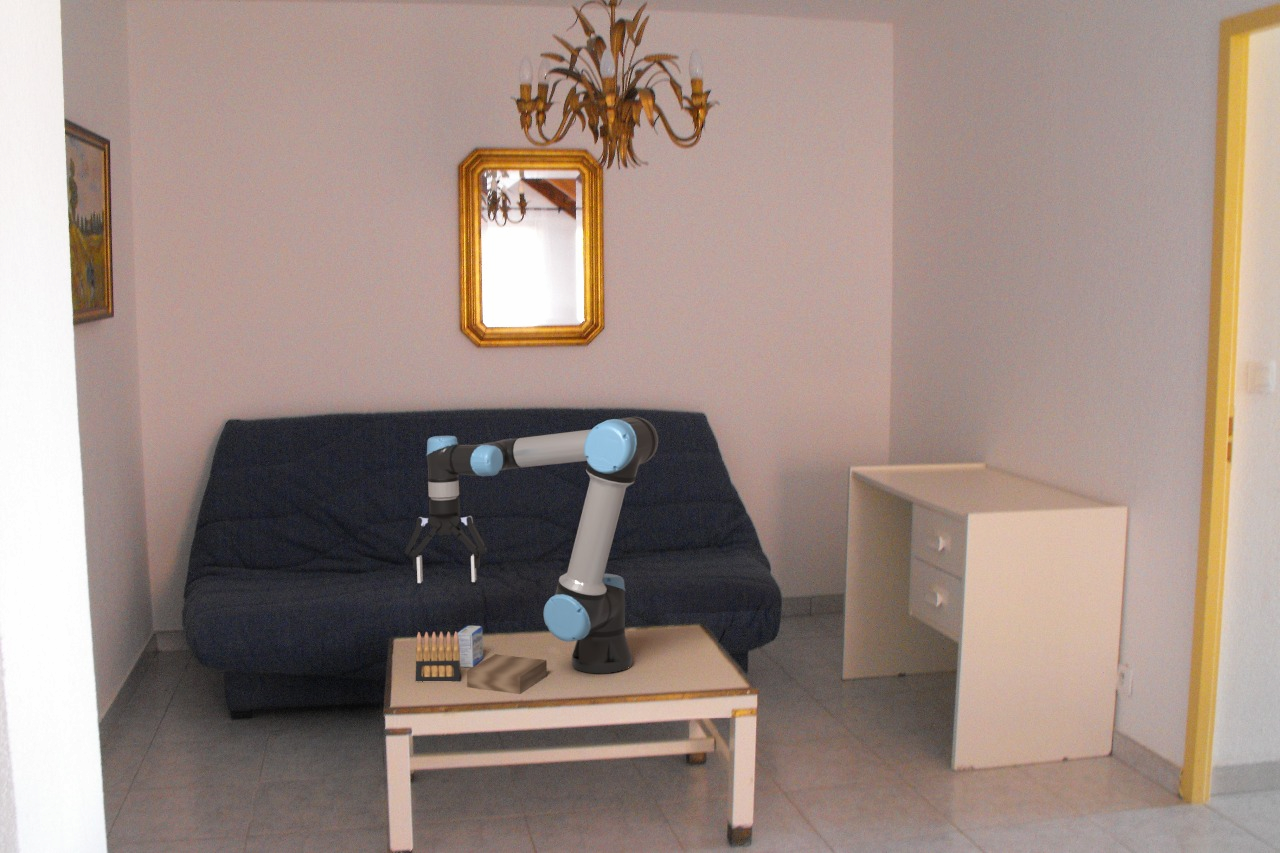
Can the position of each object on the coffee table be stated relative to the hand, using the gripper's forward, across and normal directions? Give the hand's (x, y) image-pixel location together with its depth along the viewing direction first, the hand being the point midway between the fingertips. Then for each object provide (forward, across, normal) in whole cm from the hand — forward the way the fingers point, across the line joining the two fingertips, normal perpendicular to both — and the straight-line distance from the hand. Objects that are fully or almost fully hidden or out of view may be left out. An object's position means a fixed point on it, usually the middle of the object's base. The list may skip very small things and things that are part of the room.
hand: (447, 581), depth 283 cm
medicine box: (+21, -5, +1) cm, 22 cm away
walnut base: (+21, -16, +16) cm, 31 cm away
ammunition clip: (+21, 0, +15) cm, 26 cm away
